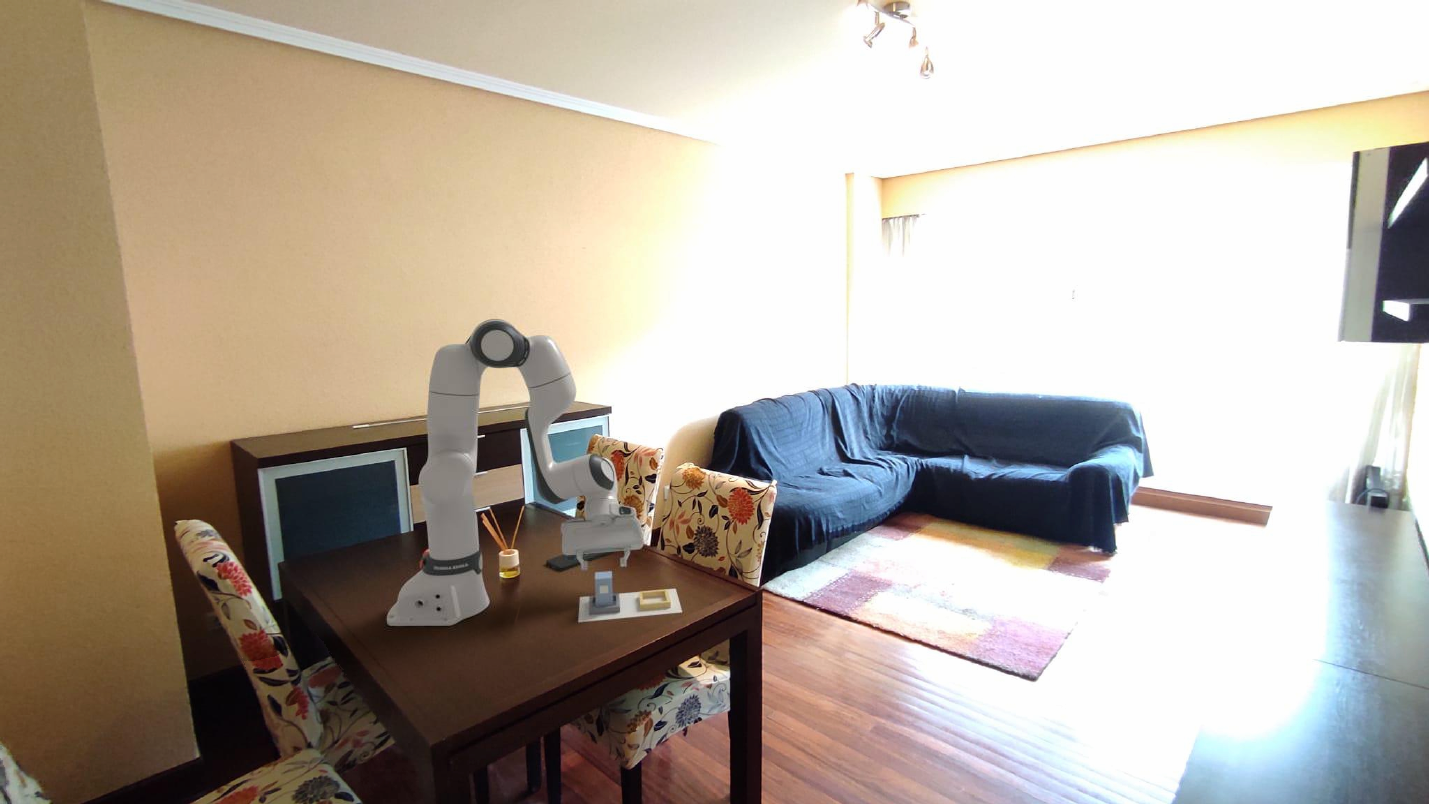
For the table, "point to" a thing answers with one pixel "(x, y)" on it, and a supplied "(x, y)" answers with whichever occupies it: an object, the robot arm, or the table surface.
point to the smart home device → (573, 560)
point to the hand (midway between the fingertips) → (604, 567)
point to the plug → (603, 589)
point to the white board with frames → (631, 605)
